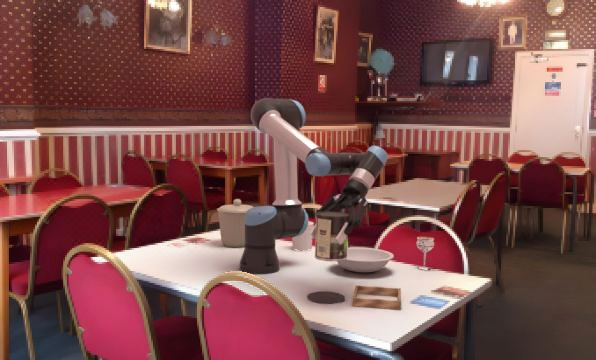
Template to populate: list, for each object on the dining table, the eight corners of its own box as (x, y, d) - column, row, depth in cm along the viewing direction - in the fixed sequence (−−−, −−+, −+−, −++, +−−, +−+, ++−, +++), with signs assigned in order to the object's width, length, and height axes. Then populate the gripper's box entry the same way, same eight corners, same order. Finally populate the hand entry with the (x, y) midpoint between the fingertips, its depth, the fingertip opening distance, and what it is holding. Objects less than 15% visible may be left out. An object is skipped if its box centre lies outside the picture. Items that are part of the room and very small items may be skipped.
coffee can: (348, 255, 186) (350, 212, 184) (344, 262, 176) (346, 217, 174) (317, 253, 188) (318, 210, 186) (311, 260, 178) (313, 215, 176)
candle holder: (313, 251, 251) (313, 224, 250) (290, 251, 251) (291, 224, 250) (312, 247, 261) (313, 221, 259) (291, 246, 261) (291, 220, 260)
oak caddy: (352, 306, 175) (352, 298, 175) (355, 292, 190) (355, 285, 189) (400, 309, 173) (401, 301, 173) (400, 295, 187) (400, 288, 187)
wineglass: (412, 267, 228) (413, 237, 227) (426, 266, 230) (428, 236, 229) (421, 271, 221) (422, 240, 220) (436, 270, 224) (437, 239, 223)
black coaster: (304, 302, 178) (304, 300, 178) (310, 291, 190) (310, 289, 190) (343, 305, 176) (343, 303, 176) (346, 294, 188) (346, 292, 188)
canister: (232, 251, 248) (232, 202, 246) (208, 244, 261) (209, 198, 259) (264, 246, 260) (265, 200, 258) (240, 239, 273) (241, 195, 271)
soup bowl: (318, 266, 224) (318, 250, 224) (368, 261, 236) (368, 245, 235) (353, 281, 203) (354, 263, 203) (406, 274, 215) (407, 257, 215)
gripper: (391, 197, 183) (358, 252, 173) (336, 189, 199) (304, 240, 189) (382, 181, 179) (348, 237, 169) (327, 174, 194) (293, 225, 184)
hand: (325, 238), depth 179 cm, fingers closed on coffee can, 10 cm apart
